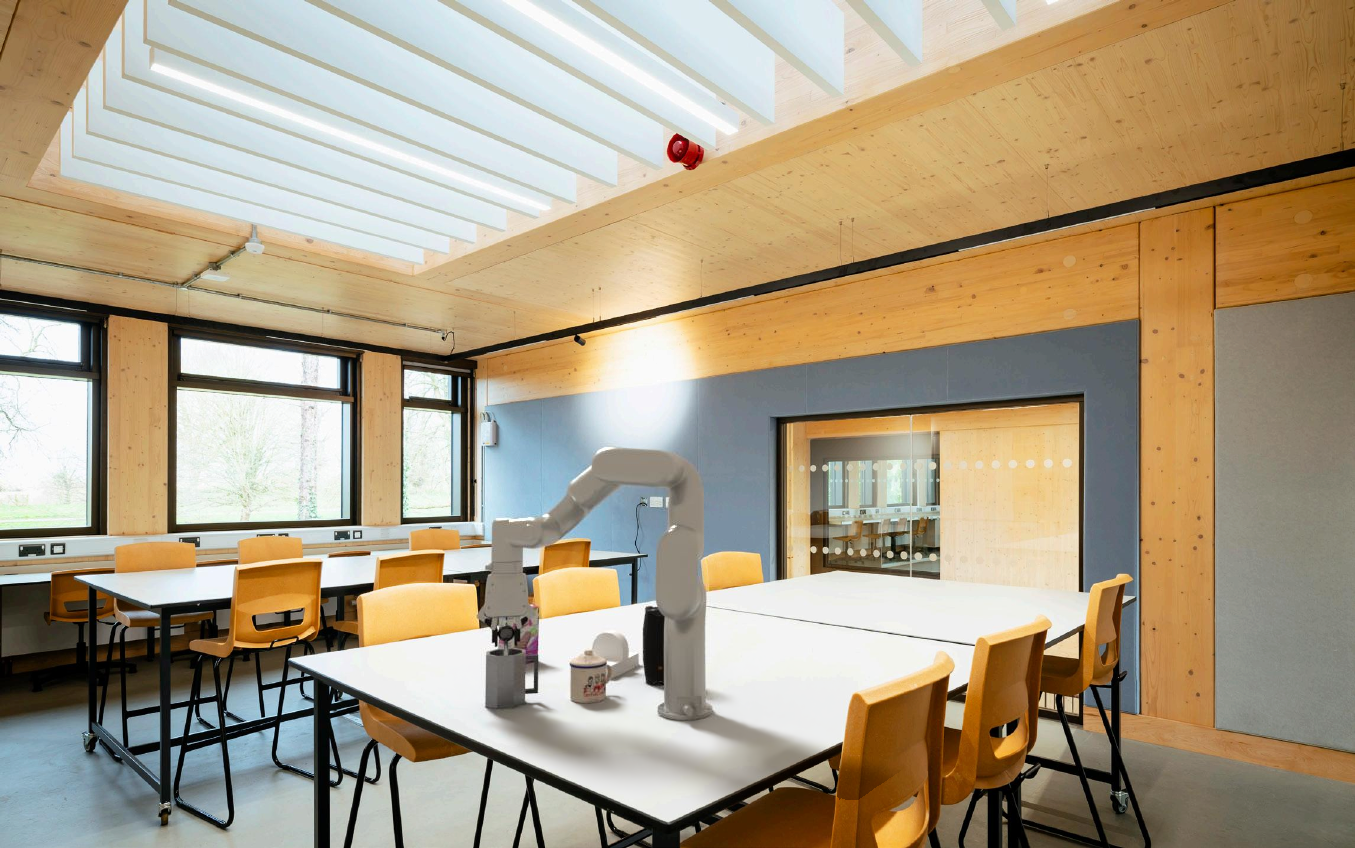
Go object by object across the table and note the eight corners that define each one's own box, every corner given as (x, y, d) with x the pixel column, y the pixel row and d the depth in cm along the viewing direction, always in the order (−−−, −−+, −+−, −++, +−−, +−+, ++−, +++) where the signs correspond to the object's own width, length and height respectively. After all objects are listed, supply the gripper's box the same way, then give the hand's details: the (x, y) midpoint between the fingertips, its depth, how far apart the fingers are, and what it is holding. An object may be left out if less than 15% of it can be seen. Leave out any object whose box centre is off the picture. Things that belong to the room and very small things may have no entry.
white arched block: (610, 680, 201) (611, 638, 202) (579, 677, 205) (579, 636, 206) (639, 665, 218) (639, 627, 218) (609, 662, 221) (609, 625, 222)
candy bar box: (505, 667, 215) (506, 609, 217) (497, 664, 219) (498, 607, 221) (539, 661, 223) (539, 605, 224) (531, 658, 226) (531, 603, 228)
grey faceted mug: (538, 706, 176) (539, 654, 177) (484, 710, 173) (485, 657, 174) (536, 696, 185) (537, 646, 186) (485, 699, 182) (486, 649, 183)
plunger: (518, 696, 176) (519, 626, 178) (492, 698, 175) (493, 627, 176) (517, 690, 182) (518, 622, 184) (492, 691, 181) (493, 623, 182)
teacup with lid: (585, 706, 176) (585, 655, 177) (561, 699, 182) (562, 650, 183) (623, 696, 184) (623, 647, 185) (599, 689, 191) (599, 642, 192)
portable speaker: (670, 687, 192) (669, 610, 193) (637, 684, 195) (636, 608, 197) (682, 679, 200) (681, 605, 201) (650, 676, 203) (649, 604, 205)
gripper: (470, 571, 176) (469, 650, 174) (542, 569, 179) (541, 646, 178) (472, 568, 183) (470, 644, 181) (541, 566, 187) (540, 640, 185)
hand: (506, 644), depth 180 cm, fingers closed on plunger, 4 cm apart
